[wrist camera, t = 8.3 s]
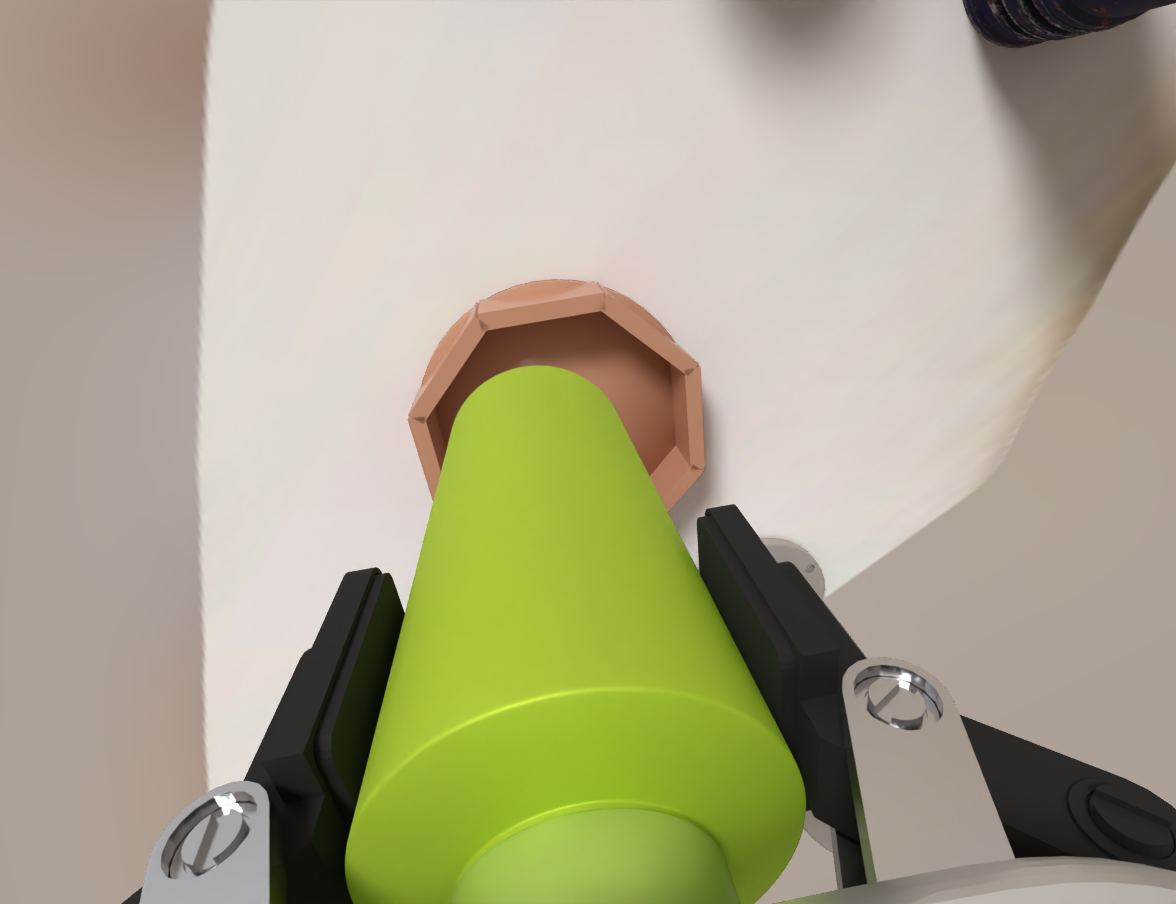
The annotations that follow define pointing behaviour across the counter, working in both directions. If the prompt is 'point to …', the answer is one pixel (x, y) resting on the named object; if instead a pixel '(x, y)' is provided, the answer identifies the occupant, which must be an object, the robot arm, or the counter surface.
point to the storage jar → (1050, 18)
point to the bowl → (581, 345)
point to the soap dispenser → (565, 686)
